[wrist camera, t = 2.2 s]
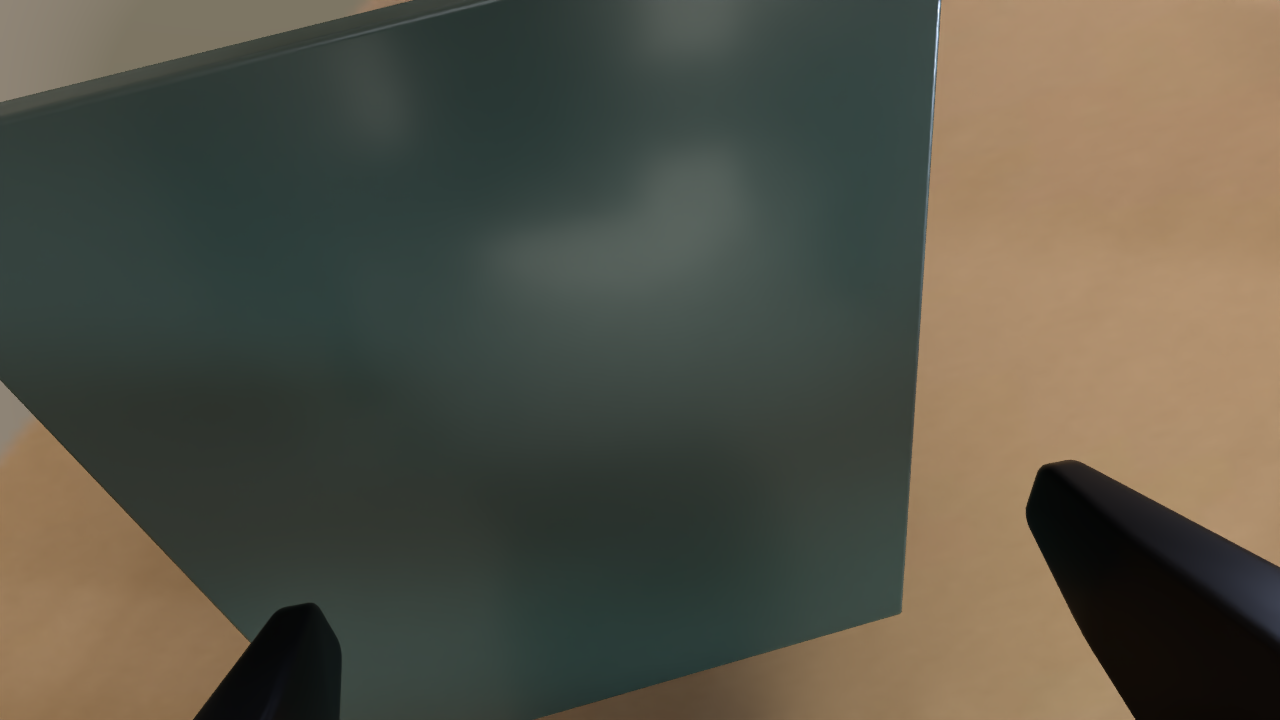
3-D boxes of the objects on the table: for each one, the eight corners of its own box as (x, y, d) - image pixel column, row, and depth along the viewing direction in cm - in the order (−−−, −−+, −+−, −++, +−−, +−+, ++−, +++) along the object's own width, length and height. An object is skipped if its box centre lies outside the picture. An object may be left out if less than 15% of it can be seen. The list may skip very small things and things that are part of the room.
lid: (-153, 138, 8) (-208, 169, 7) (914, -125, 8) (952, -120, 8) (371, 731, 16) (368, 769, 15) (885, 583, 16) (902, 614, 16)
